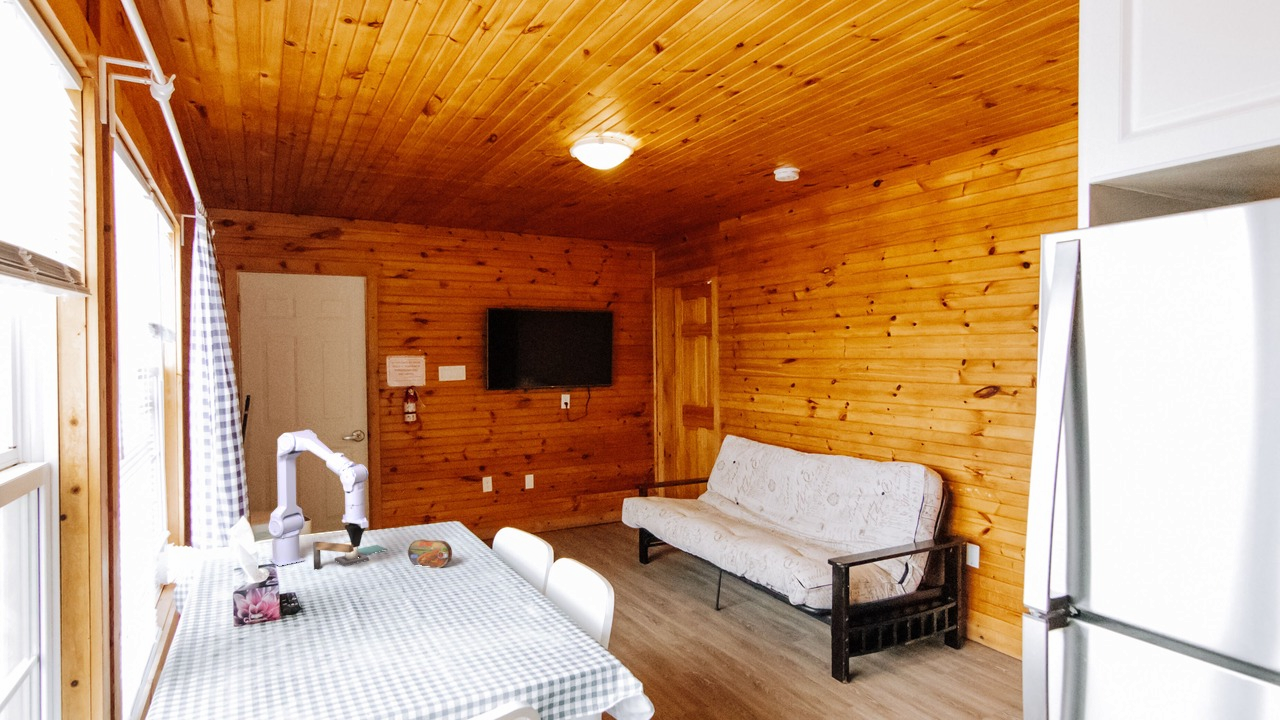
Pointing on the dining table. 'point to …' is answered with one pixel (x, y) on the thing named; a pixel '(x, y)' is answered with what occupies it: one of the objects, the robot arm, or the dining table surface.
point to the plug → (351, 553)
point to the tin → (430, 553)
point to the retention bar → (328, 547)
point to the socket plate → (344, 562)
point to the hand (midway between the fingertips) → (356, 546)
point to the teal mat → (371, 549)
